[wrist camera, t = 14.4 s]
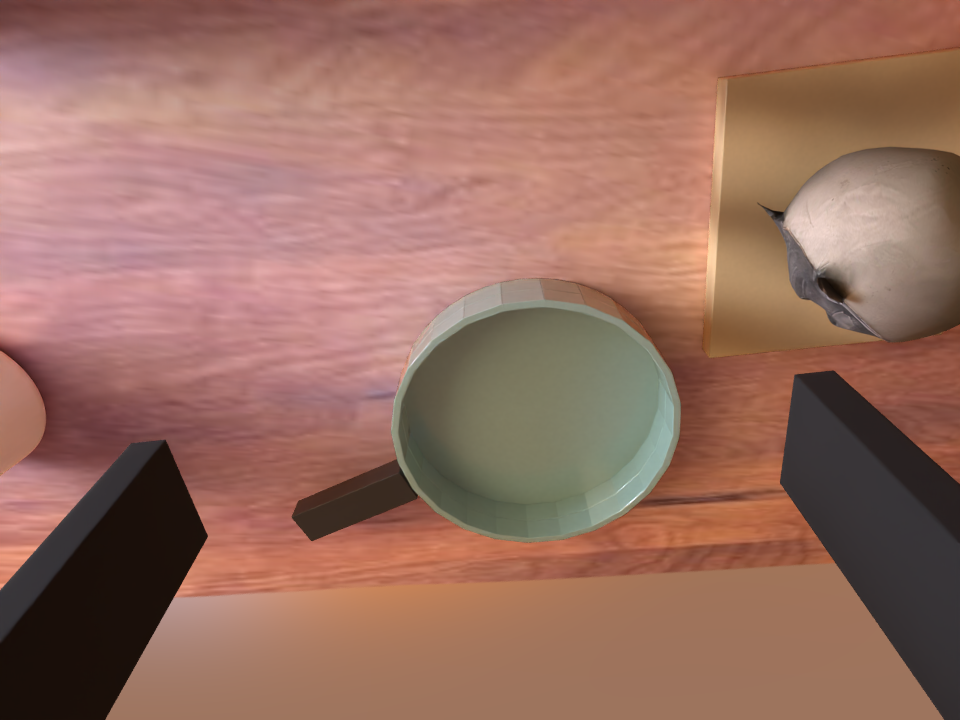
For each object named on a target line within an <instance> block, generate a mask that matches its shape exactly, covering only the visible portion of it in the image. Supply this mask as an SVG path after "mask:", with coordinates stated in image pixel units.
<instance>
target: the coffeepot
mask: <svg viewBox="0 0 960 720" xmlns="http://www.w3.org/2000/svg"><path fill="white" fill-rule="evenodd" d="M45 427H46V412H45V407H44V403H43V400H42V397H41V395H40V392H39V390H38V388H37V387H36V385H35V384H34V382H33V381H32V379H31V378H30V377H29V375H28V374H27V373H26V372H25V371H24V370H23V369H22V368H21V367H20V366H19V365H18V364H17V363H16V362H15V361H14V360H13V359H11V358H10V357H9V356H7V355H6V354H5V353H3V352H2V351H0V476H1V475H2V474H3V473H5V472H6V471H8V470H9V469H10V468H12V467H13V466H14V465H16V464H17V463H18V462H20V461H21V460H22V459H24V458H25V457H26V456H28V455H29V454H30V453H31V452H32V451H33V450H34V449H35V448H36V447H37V445H38V444H39V442H40V441H41V439H42V436H43V434H44V431H45Z"/></svg>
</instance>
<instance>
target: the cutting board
mask: <svg viewBox="0 0 960 720" xmlns="http://www.w3.org/2000/svg"><path fill="white" fill-rule="evenodd" d="M881 147H905V148H923V149H934V150H940V151H946V152H951V153H954V154H956V155H958V156H960V47H955V48H947V49H939V50H931V51H923V52H916V53H908V54H900V55H892V56H884V57H876V58H869V59H861V60H853V61H845V62H837V63H829V64H822V65H814V66H806V67H798V68H790V69H782V70H775V71H767V72H759V73H751V74H743V75H735V76H727V77H720V78H718V82H717V100H716V117H715V135H714V152H713V170H712V187H711V205H710V222H709V240H708V257H707V275H706V292H705V310H704V327H703V345H702V349H703V350H704V352H705V353H706V354H707V356H708V357H709V358H716V357H726V356H736V355H746V354H756V353H765V352H775V351H785V350H795V349H805V348H815V347H824V346H834V345H844V344H854V343H864V342H873V341H883V339H880V338H878V337H875V336H871V335H867V334H863V333H859V332H855V331H851V330H847V329H843V328H840V327H837V326H834V325H833V324H832V323H831V322H830V320H829V319H828V317H827V314H826V311H825V309H823V308H822V307H821V306H819V305H818V304H816V303H814V302H813V301H811V300H803V299H801V298H799V297H798V296H797V294H796V292H795V291H794V289H793V288H792V286H791V283H790V281H789V270H788V261H787V247H786V243H785V241H784V238H783V236H782V234H781V232H780V230H779V229H778V227H777V225H776V224H775V222H774V221H773V219H772V218H771V217H770V216H769V215H768V213H767V212H766V211H765V210H764V209H763V208H762V206H764V207H766V208H769V209H771V210H774V211H780V212H784V211H785V209H786V208H787V207H788V205H789V204H790V202H791V201H792V200H793V198H794V197H795V195H796V194H797V192H798V191H799V190H800V188H801V187H802V186H803V185H804V183H805V182H806V181H807V180H808V179H809V178H810V177H812V176H813V175H814V174H815V173H816V172H817V171H818V170H820V169H821V168H823V167H824V166H825V165H827V164H829V163H830V162H832V161H834V160H835V159H837V158H839V157H840V156H842V155H845V154H849V153H852V152H856V151H860V150H864V149H871V148H881ZM757 202H758V203H759V204H760V205H762V206H760V205H758V203H757ZM942 333H943V332H941V333H939V334H935V335H941V334H942Z"/></svg>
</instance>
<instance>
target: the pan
mask: <svg viewBox="0 0 960 720" xmlns="http://www.w3.org/2000/svg"><path fill="white" fill-rule="evenodd" d="M680 419H681V402H680V398H679V395H678V391H677V388H676V384H675V381H674V377H673V374H672V371H671V370H670V368H669V366H668V365H667V363H666V361H665V360H664V358H663V356H662V355H661V353H660V351H659V350H658V348H657V346H656V345H655V343H654V342H653V340H652V339H651V337H650V336H649V335H648V333H647V331H646V330H645V329H644V327H643V326H642V324H641V323H640V321H639V320H638V319H637V318H635V317H634V316H633V315H632V314H631V313H630V312H629V311H627V310H626V309H625V308H624V307H623V306H621V305H620V304H618V303H617V302H616V301H614V300H613V299H611V298H610V297H608V296H606V295H604V294H602V293H600V292H598V291H596V290H594V289H591V288H588V287H585V286H582V285H580V284H577V283H572V282H567V281H562V280H557V279H544V278H532V279H517V280H512V281H506V282H500V283H497V284H494V285H491V286H487V287H484V288H481V289H479V290H477V291H475V292H472V293H470V294H468V295H466V296H464V297H462V298H461V299H459V300H458V301H456V302H454V303H453V304H451V305H450V306H448V307H447V308H446V309H445V310H443V311H442V312H441V313H440V314H438V315H437V316H436V317H435V318H434V319H433V320H432V321H431V322H430V323H429V325H428V326H427V327H426V328H425V329H424V330H423V332H422V333H421V334H420V336H419V337H418V339H417V340H416V341H415V342H414V344H413V346H412V348H411V350H410V353H409V355H408V357H407V360H406V362H405V365H404V367H403V369H402V372H401V375H400V379H399V383H398V387H397V391H396V395H395V399H394V406H393V416H392V427H391V434H392V439H393V443H394V448H395V452H396V457H397V461H398V464H399V466H400V468H401V469H402V471H403V473H404V475H405V476H406V478H407V480H408V482H409V483H410V485H411V487H412V489H413V490H414V491H415V492H416V493H417V494H418V495H419V496H420V497H421V498H422V499H423V500H424V501H425V502H426V503H427V504H428V505H429V506H430V507H431V508H432V509H433V510H434V511H435V512H436V513H438V514H439V515H441V516H443V517H444V518H446V519H448V520H449V521H451V522H453V523H455V524H456V525H458V526H460V527H461V528H464V529H465V530H469V531H472V532H475V533H478V534H481V535H484V536H487V537H490V538H493V539H499V540H508V541H517V542H526V543H528V542H529V543H532V542H544V541H555V540H564V539H567V538H570V537H574V536H577V535H581V534H584V533H588V532H591V531H594V530H597V529H599V528H600V527H602V526H604V525H606V524H608V523H610V522H612V521H614V520H616V519H617V518H619V517H621V516H623V515H625V514H626V513H627V512H628V511H630V510H631V509H632V508H633V507H634V506H635V505H637V504H638V503H639V502H640V501H641V500H642V499H644V498H645V497H646V496H647V495H648V494H649V493H650V492H651V491H652V490H653V488H654V487H655V485H656V484H657V483H658V481H659V480H660V478H661V477H662V476H663V474H664V473H665V471H666V470H667V468H668V467H669V465H670V462H671V459H672V456H673V454H674V451H675V448H676V445H677V443H678V440H679V436H680Z"/></svg>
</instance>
